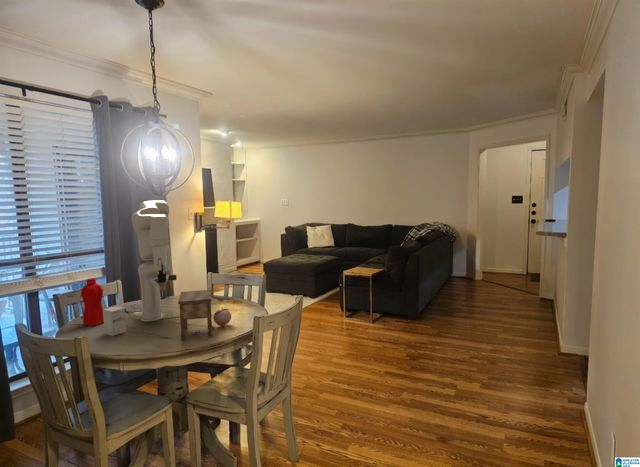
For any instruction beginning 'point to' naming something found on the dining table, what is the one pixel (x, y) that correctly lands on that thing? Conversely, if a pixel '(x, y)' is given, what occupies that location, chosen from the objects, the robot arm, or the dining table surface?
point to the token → (195, 332)
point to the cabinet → (195, 309)
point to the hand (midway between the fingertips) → (162, 281)
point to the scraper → (168, 278)
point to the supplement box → (114, 320)
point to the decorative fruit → (222, 317)
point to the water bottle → (92, 303)
